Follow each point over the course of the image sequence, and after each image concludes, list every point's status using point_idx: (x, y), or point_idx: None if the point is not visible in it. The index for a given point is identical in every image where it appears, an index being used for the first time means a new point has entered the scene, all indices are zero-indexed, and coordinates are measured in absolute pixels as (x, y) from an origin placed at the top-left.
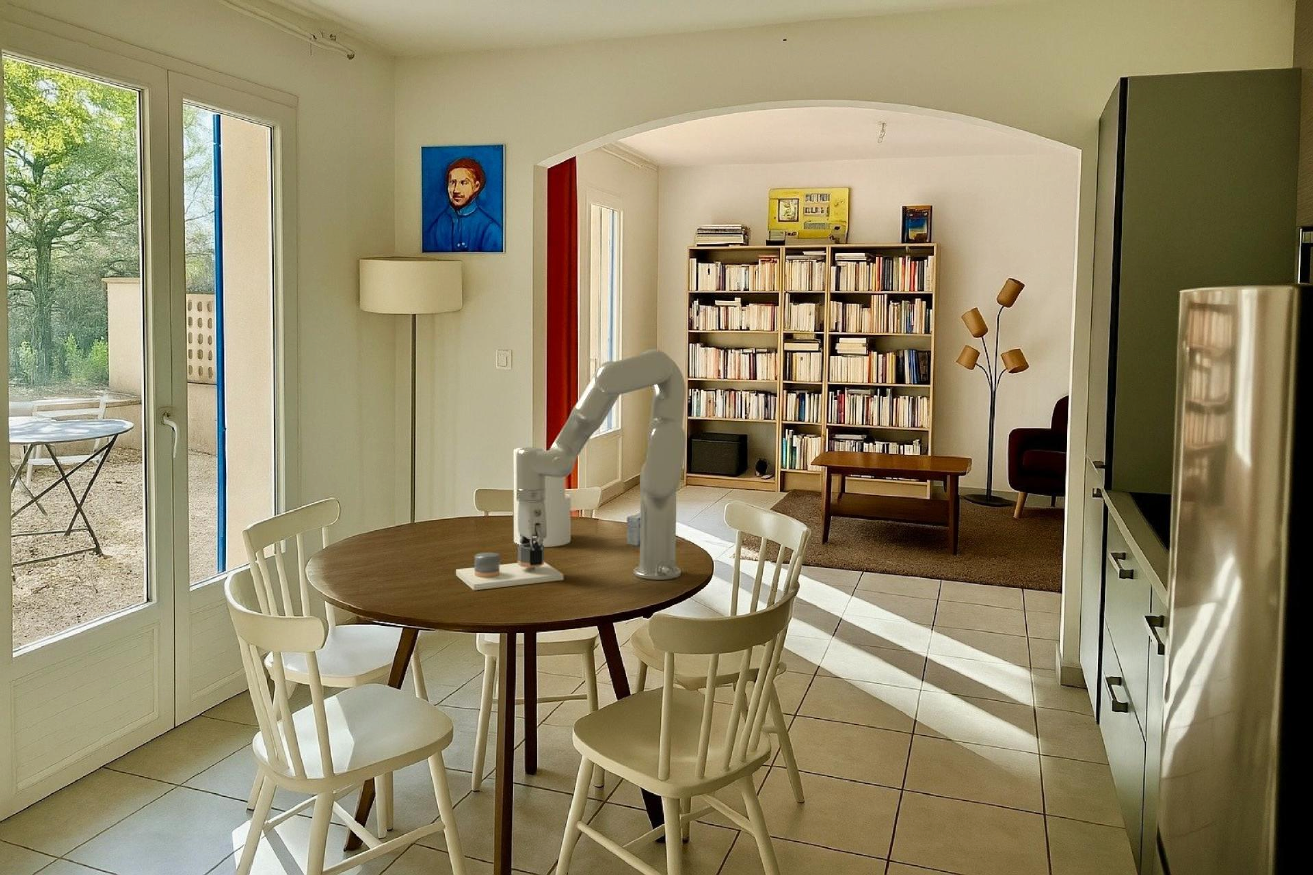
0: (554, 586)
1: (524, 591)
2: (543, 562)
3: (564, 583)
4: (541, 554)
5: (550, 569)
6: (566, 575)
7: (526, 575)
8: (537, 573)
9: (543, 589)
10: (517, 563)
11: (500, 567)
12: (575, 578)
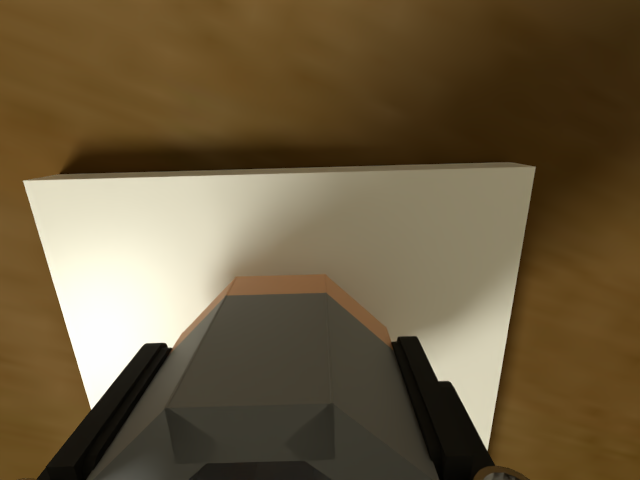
0: (617, 271)
1: (599, 435)
2: (335, 290)
3: (596, 187)
4: (445, 403)
5: (346, 212)
6: (405, 90)
7: None
8: (413, 331)
9: (631, 346)
10: (91, 369)
11: None
12: (523, 53)
